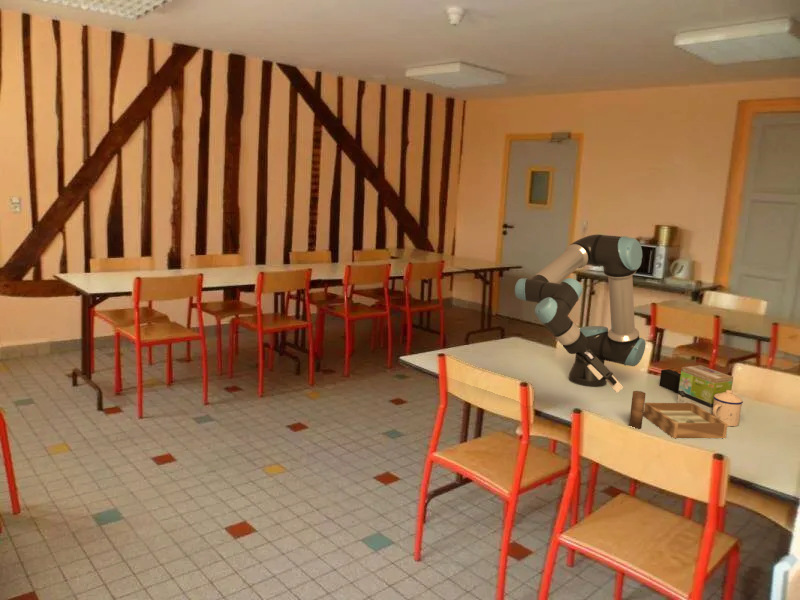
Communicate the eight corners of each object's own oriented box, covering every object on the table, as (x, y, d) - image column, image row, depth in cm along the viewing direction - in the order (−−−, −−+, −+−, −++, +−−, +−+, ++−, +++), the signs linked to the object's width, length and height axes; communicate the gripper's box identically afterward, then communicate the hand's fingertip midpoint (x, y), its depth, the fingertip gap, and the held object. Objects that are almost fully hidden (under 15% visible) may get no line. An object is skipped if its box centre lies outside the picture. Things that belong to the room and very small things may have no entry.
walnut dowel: (626, 424, 212) (630, 390, 210) (637, 424, 212) (642, 390, 210) (632, 429, 208) (636, 394, 206) (643, 429, 208) (647, 394, 206)
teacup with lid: (720, 416, 225) (724, 385, 223) (744, 424, 217) (749, 392, 215) (699, 421, 219) (704, 389, 216) (724, 430, 211) (729, 397, 209)
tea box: (675, 403, 236) (680, 366, 234) (695, 401, 240) (700, 364, 238) (709, 417, 223) (714, 377, 220) (728, 414, 227) (734, 375, 224)
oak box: (643, 416, 221) (644, 402, 220) (691, 416, 223) (692, 403, 222) (673, 438, 201) (675, 423, 200) (725, 438, 203) (727, 424, 202)
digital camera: (688, 393, 250) (690, 376, 249) (677, 393, 248) (679, 377, 247) (669, 385, 260) (671, 368, 259) (659, 385, 258) (661, 369, 257)
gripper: (549, 336, 214) (586, 379, 218) (577, 356, 190) (618, 403, 194) (565, 322, 214) (602, 365, 218) (595, 339, 189) (637, 387, 194)
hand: (610, 383), depth 206 cm, fingers open, 13 cm apart
